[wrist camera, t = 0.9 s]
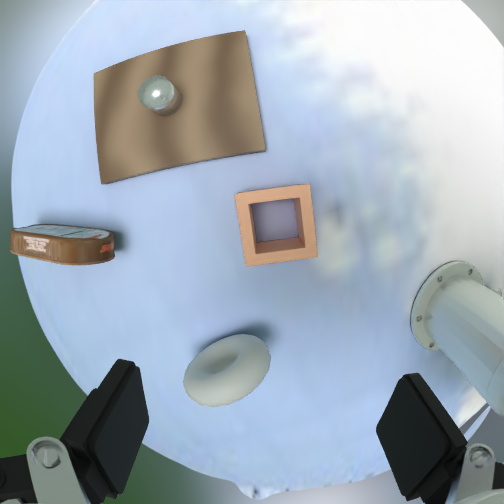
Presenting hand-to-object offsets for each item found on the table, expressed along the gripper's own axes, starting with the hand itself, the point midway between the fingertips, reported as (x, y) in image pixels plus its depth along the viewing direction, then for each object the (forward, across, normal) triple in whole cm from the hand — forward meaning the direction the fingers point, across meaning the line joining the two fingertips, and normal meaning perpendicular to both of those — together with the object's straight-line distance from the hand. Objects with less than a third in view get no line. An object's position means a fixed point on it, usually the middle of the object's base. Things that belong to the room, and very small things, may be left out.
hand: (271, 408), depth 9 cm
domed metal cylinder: (+21, +11, -15) cm, 28 cm away
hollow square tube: (+22, -1, -4) cm, 22 cm away
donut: (+22, +2, +12) cm, 25 cm away
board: (+22, +11, -15) cm, 29 cm away
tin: (+23, +23, 0) cm, 32 cm away
